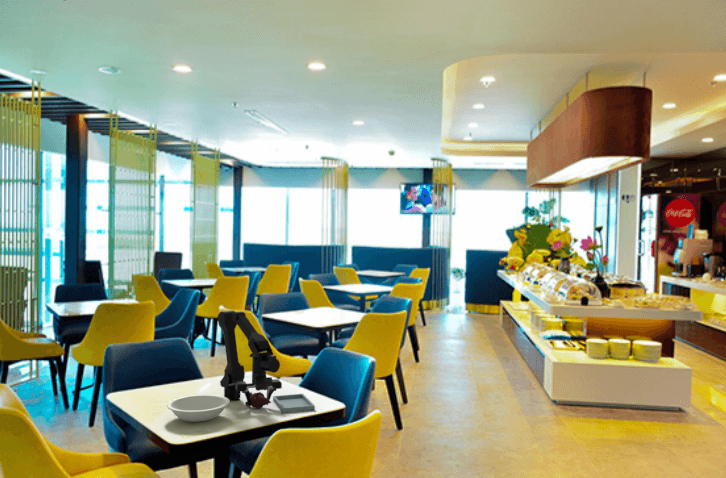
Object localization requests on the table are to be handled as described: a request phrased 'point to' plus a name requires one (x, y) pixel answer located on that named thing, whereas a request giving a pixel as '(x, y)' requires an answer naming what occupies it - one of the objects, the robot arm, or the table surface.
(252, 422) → the table surface
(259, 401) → the icecream
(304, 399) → the tray
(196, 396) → the soup bowl
